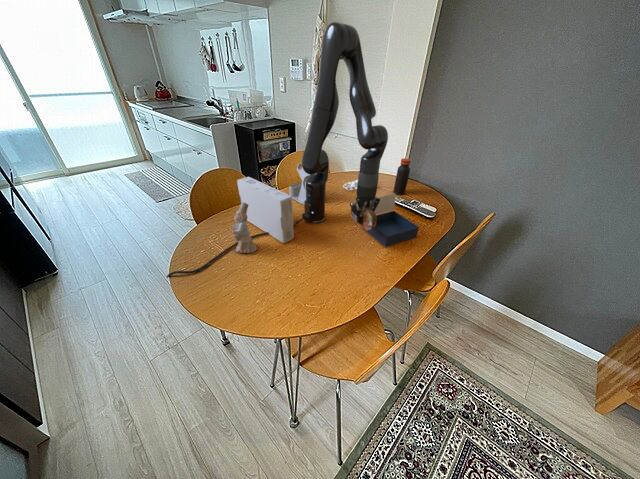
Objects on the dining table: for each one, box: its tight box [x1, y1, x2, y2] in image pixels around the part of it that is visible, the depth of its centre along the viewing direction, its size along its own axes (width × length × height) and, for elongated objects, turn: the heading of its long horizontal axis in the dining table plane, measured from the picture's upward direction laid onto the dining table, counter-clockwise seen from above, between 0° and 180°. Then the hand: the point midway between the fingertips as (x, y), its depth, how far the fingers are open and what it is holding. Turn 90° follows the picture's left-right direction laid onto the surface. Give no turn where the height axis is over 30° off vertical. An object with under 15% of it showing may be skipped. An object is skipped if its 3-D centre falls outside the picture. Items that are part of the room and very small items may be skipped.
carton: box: [362, 210, 420, 248], centre depth 117 cm, size 18×17×5 cm
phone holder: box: [288, 162, 310, 206], centre depth 141 cm, size 17×10×18 cm, turn 42°
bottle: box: [393, 157, 411, 196], centre depth 149 cm, size 7×7×20 cm
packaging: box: [236, 176, 295, 244], centre depth 114 cm, size 30×6×20 cm, turn 47°
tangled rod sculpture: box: [342, 179, 358, 192], centre depth 159 cm, size 19×14×4 cm
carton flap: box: [373, 192, 396, 215], centre depth 119 cm, size 18×8×1 cm
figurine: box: [231, 202, 258, 254], centre depth 101 cm, size 9×8×20 cm
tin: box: [350, 204, 377, 232], centre depth 105 cm, size 15×3×8 cm, turn 27°
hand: (362, 222), depth 107 cm, fingers closed on tin, 2 cm apart
